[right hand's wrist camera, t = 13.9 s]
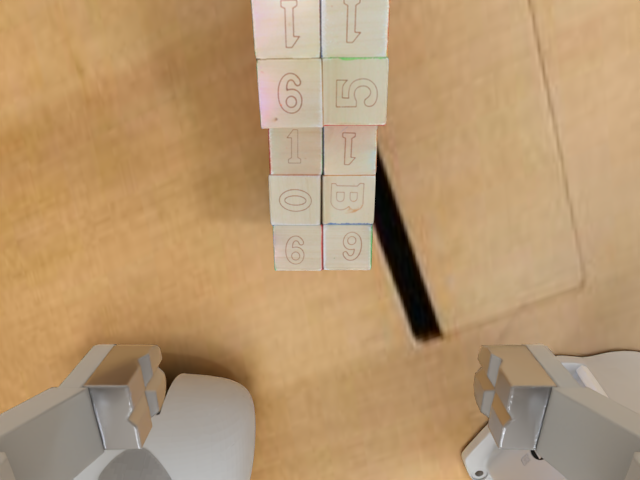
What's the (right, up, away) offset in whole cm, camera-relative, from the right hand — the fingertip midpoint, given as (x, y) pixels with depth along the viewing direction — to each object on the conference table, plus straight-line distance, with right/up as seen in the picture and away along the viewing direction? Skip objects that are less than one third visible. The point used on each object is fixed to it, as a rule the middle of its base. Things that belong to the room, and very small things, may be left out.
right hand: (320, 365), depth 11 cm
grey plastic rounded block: (-14, -18, +33) cm, 40 cm away
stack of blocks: (0, +15, +20) cm, 25 cm away
